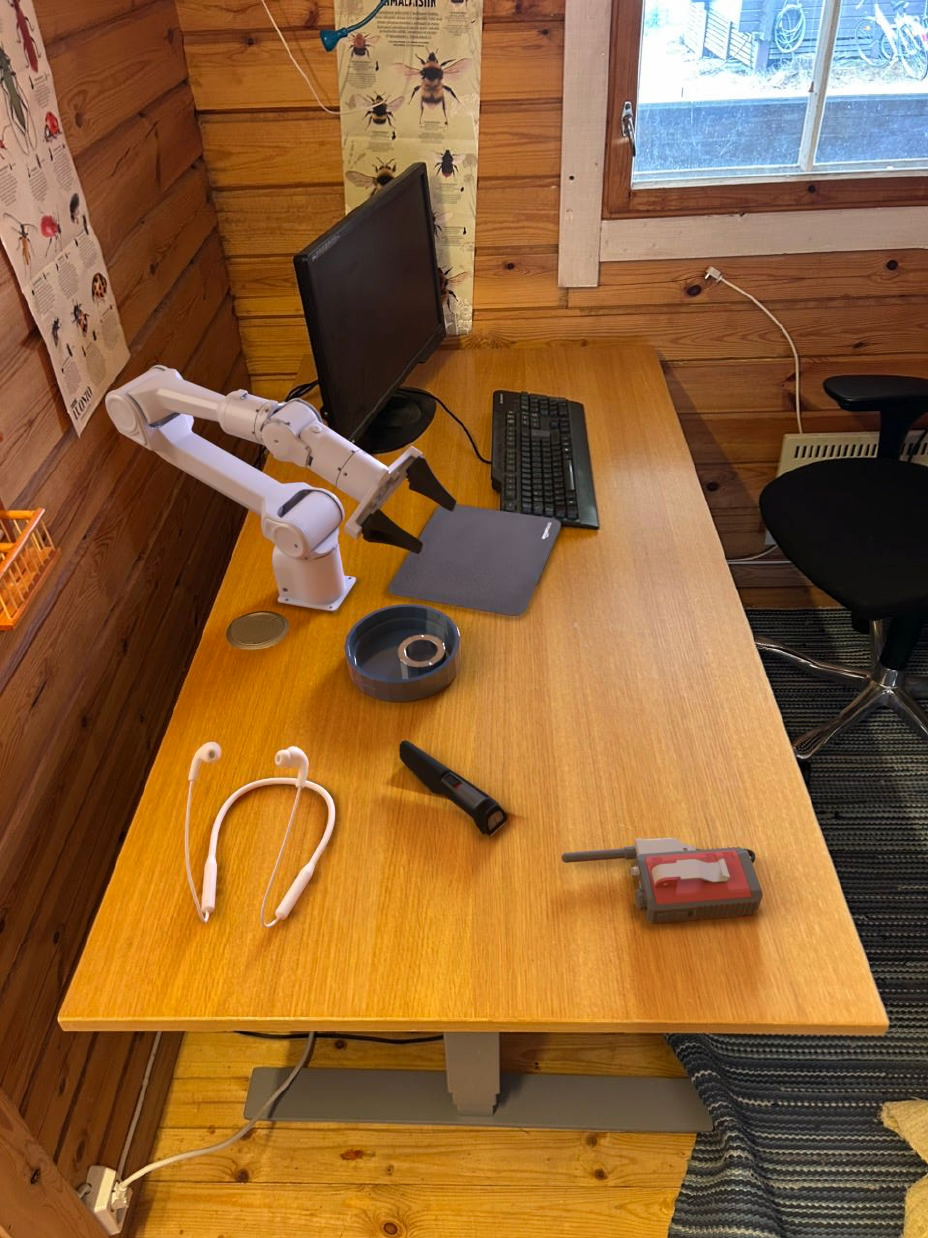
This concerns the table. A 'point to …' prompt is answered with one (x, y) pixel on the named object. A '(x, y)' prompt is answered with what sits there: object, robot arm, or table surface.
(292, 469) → the table surface
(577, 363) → the table surface
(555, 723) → the table surface
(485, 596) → the mouse pad
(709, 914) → the walkie-talkie
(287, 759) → the earphone
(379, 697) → the bowl
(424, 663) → the steel ring
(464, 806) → the electric trimmer
